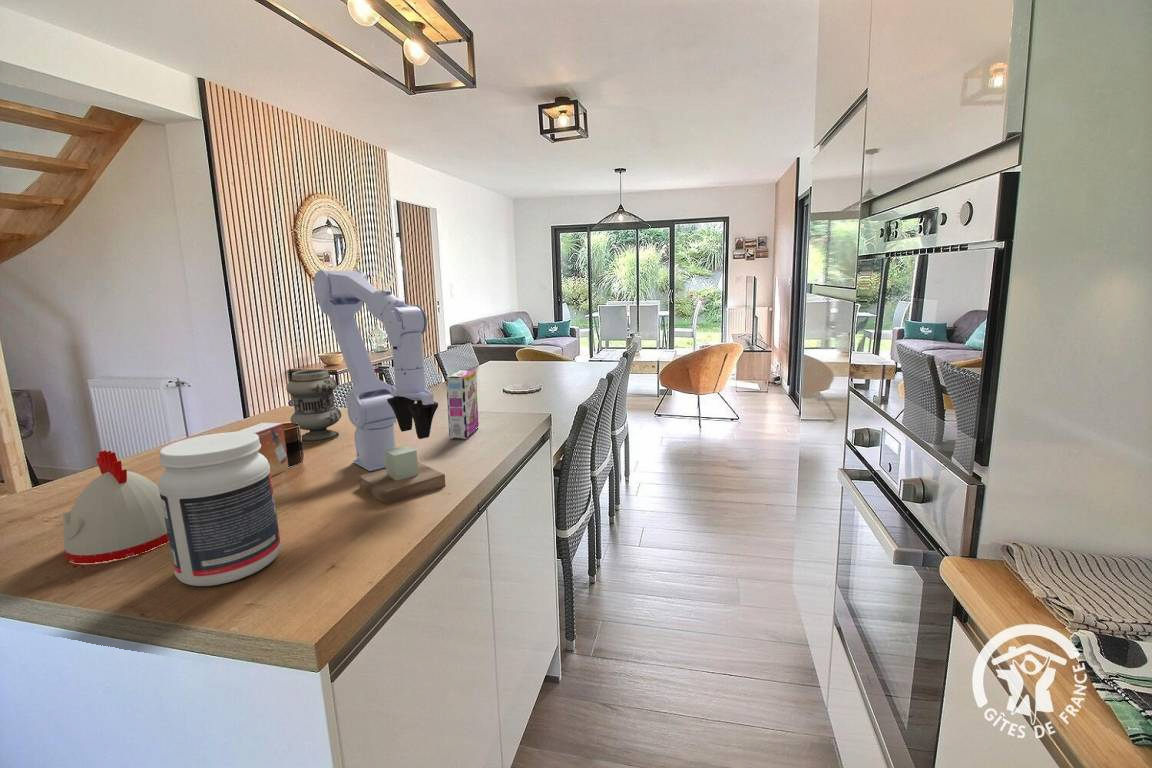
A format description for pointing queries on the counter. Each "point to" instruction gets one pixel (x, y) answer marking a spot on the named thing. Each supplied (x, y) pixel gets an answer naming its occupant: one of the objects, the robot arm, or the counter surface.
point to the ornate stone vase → (314, 404)
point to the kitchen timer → (114, 516)
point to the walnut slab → (401, 484)
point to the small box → (271, 445)
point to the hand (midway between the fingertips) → (414, 434)
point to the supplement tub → (218, 508)
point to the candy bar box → (462, 404)
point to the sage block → (401, 462)
